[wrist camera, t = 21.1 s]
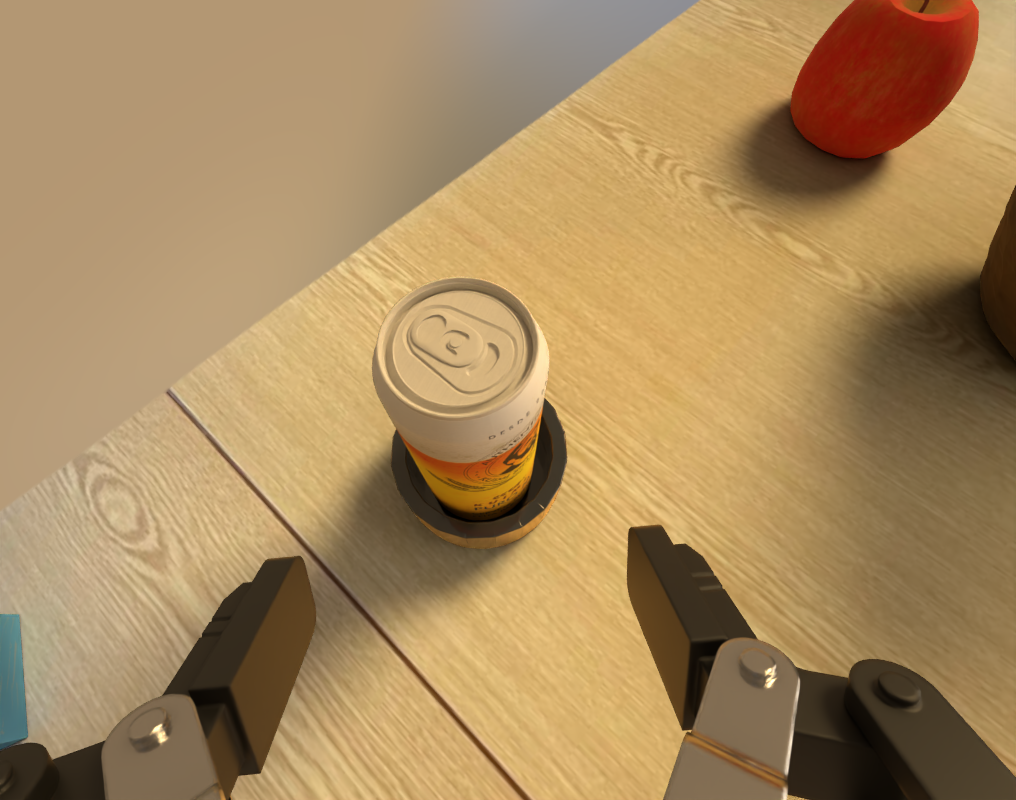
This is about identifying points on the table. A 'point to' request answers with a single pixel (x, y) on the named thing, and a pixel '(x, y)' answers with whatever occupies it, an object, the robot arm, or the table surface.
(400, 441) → the round brown bowl
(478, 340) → the beer can
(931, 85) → the apple
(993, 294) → the pitcher
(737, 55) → the table surface
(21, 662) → the perfume bottle
